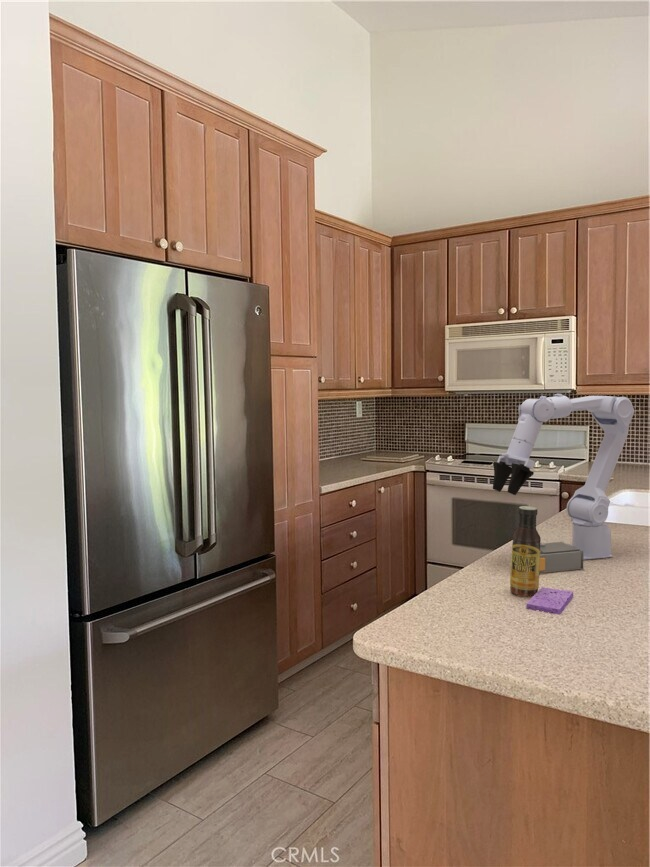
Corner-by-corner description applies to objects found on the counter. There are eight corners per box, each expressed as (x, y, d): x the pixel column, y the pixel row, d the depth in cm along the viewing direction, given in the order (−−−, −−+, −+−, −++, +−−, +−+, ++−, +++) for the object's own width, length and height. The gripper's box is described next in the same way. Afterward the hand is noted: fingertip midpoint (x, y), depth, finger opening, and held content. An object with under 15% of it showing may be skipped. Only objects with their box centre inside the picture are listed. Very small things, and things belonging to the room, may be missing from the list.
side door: (581, 567, 167) (581, 550, 167) (585, 569, 166) (585, 552, 165) (534, 572, 164) (534, 554, 164) (537, 573, 163) (537, 556, 162)
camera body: (561, 560, 175) (561, 539, 174) (579, 568, 167) (579, 547, 167) (525, 563, 172) (525, 542, 172) (542, 572, 165) (542, 550, 164)
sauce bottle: (507, 595, 148) (507, 508, 146) (513, 587, 153) (513, 503, 152) (537, 599, 145) (538, 511, 143) (542, 591, 150) (543, 505, 149)
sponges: (573, 599, 146) (573, 591, 146) (559, 617, 136) (559, 608, 136) (541, 594, 150) (541, 586, 150) (525, 611, 140) (525, 602, 139)
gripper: (495, 436, 175) (477, 483, 174) (524, 437, 160) (505, 489, 159) (517, 446, 176) (499, 493, 175) (548, 448, 162) (529, 499, 161)
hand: (503, 491), depth 167 cm, fingers open, 7 cm apart
